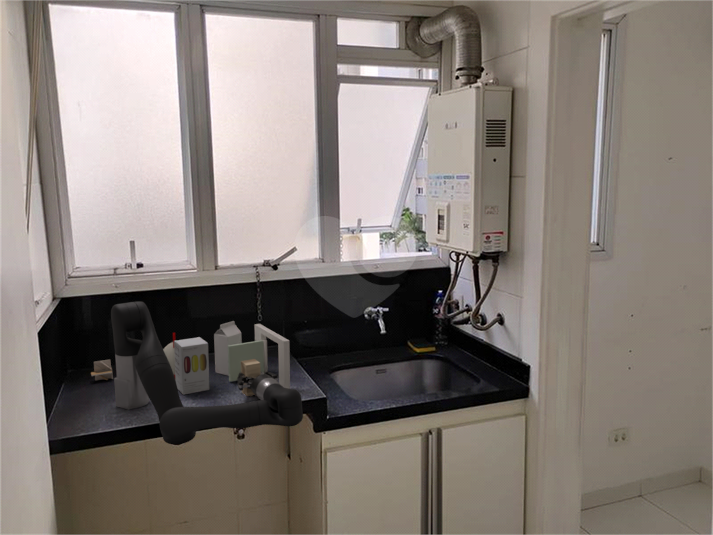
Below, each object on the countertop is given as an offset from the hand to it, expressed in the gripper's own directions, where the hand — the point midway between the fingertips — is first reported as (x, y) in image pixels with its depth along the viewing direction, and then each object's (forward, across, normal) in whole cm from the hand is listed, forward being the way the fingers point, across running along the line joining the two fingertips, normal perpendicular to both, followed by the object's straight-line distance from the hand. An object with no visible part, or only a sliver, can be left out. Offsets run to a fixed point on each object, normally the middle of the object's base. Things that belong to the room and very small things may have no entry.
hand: (248, 373), depth 193 cm
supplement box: (+12, -16, -6) cm, 21 cm away
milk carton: (+22, +1, -6) cm, 23 cm away
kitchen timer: (+32, -16, -6) cm, 36 cm away
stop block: (-3, 0, -6) cm, 7 cm away
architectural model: (+37, -41, -7) cm, 56 cm away
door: (+12, +4, -5) cm, 14 cm away
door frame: (+5, +11, -6) cm, 13 cm away
